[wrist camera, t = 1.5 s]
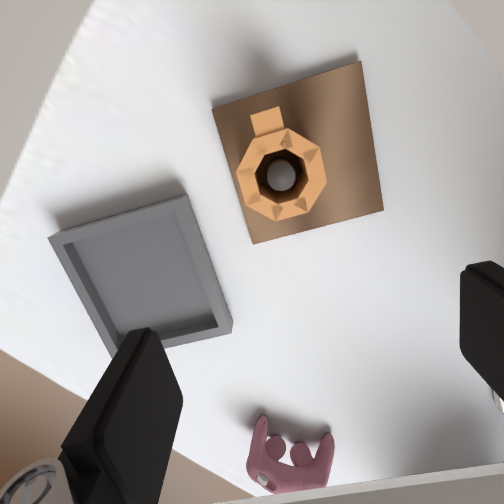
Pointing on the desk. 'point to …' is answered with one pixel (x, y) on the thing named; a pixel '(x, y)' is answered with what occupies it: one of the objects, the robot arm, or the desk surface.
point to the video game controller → (282, 475)
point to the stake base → (321, 134)
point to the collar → (271, 140)
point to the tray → (145, 275)
